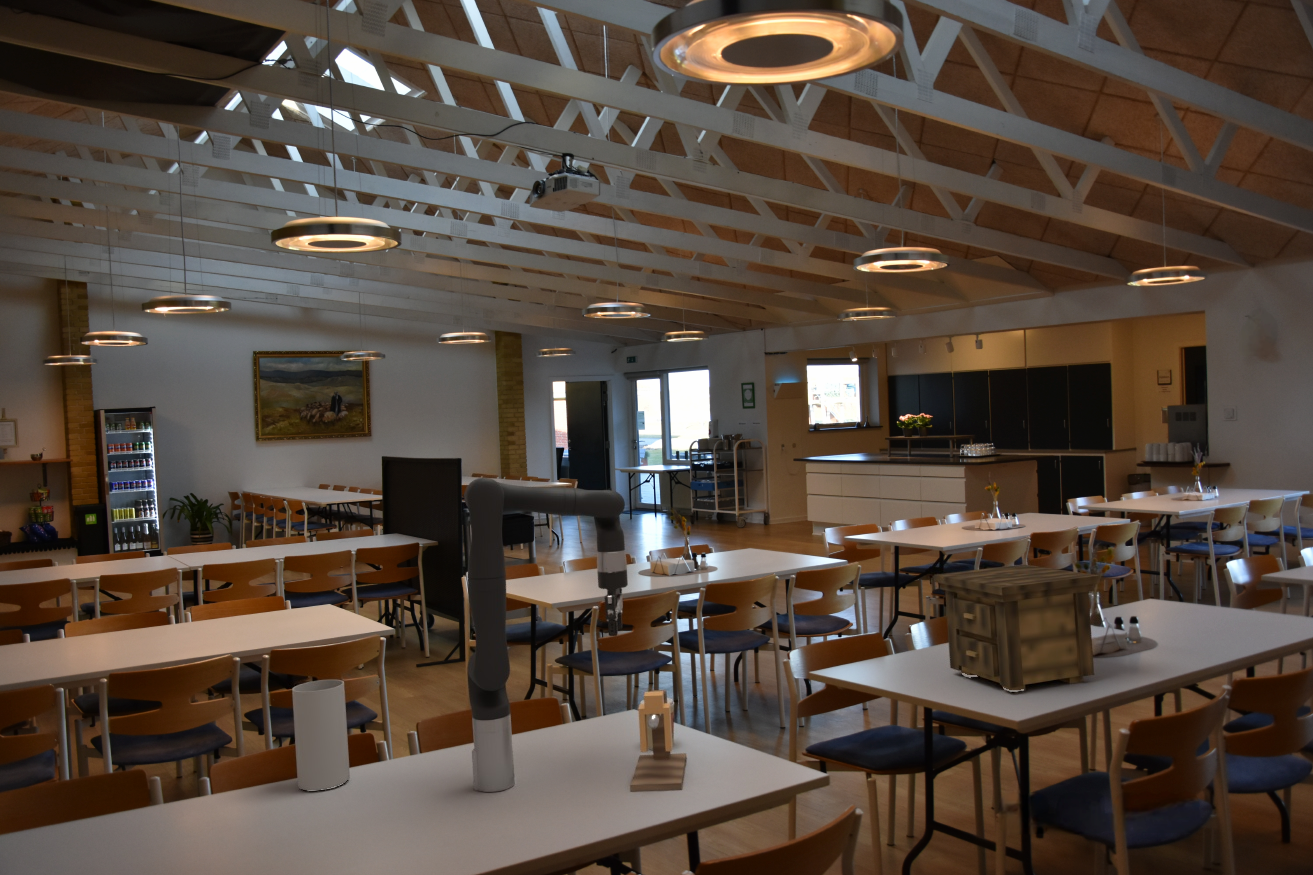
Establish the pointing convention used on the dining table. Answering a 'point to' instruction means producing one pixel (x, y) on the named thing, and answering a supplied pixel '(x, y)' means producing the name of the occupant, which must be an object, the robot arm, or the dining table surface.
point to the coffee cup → (649, 730)
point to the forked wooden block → (654, 706)
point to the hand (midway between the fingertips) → (615, 632)
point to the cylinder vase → (320, 734)
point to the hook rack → (659, 761)
